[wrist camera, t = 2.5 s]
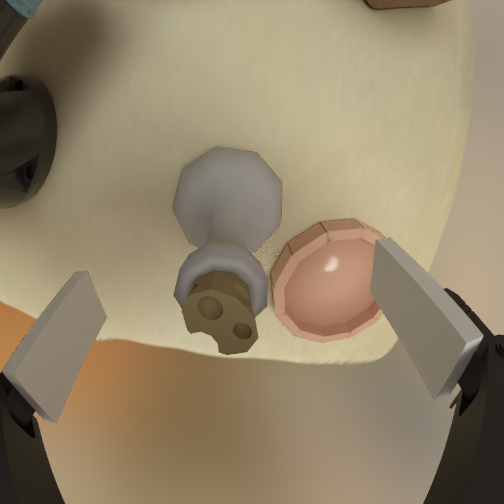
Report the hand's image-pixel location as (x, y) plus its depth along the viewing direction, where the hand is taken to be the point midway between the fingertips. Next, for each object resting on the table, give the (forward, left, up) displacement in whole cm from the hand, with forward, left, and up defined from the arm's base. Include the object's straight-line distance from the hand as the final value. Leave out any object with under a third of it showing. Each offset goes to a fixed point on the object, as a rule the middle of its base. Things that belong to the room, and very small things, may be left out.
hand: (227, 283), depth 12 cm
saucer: (+10, -11, -15) cm, 21 cm away
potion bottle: (0, 0, -15) cm, 15 cm away
